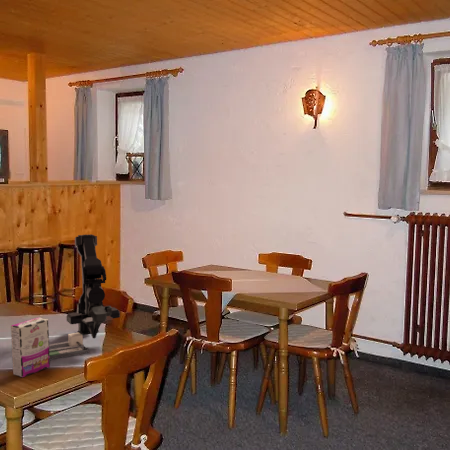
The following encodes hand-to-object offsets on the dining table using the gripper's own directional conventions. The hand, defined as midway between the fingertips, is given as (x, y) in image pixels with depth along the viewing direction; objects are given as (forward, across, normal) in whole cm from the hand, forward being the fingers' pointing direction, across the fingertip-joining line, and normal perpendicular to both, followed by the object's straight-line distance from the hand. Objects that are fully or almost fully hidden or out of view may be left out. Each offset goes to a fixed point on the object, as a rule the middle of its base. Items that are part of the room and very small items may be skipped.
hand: (93, 338), depth 202 cm
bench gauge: (+3, -14, 0) cm, 14 cm away
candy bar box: (+3, -26, -14) cm, 30 cm away
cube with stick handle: (+1, -7, -2) cm, 7 cm away
